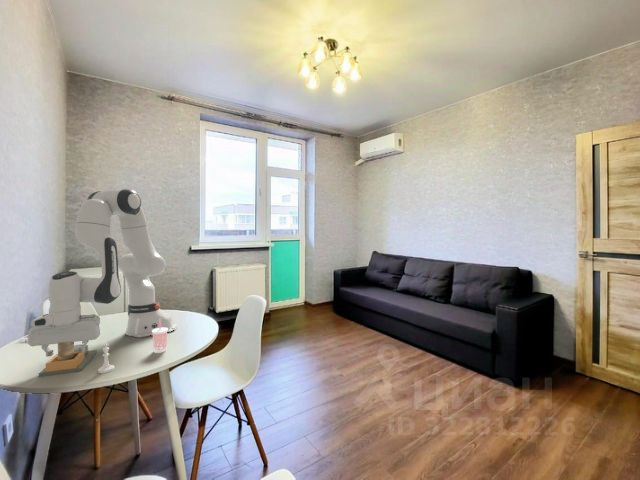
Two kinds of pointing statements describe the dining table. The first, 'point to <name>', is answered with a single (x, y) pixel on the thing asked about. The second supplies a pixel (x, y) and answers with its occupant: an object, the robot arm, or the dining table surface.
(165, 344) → the beverage cup
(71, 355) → the wooden peg
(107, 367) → the chess piece
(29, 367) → the dining table surface
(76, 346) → the base
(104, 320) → the dining table surface
